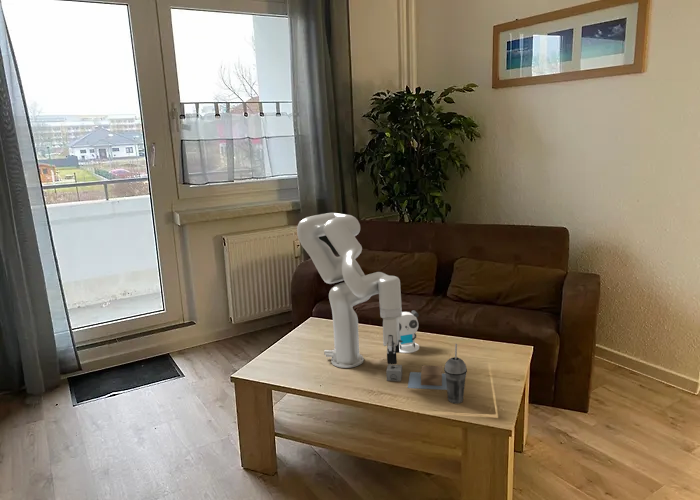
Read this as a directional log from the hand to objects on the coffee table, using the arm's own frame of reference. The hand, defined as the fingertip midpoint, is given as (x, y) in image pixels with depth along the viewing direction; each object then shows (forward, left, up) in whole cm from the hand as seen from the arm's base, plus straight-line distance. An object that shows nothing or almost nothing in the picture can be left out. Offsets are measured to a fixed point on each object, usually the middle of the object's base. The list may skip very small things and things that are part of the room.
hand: (393, 358), depth 186 cm
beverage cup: (+21, -13, -9) cm, 27 cm away
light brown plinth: (+13, 0, -8) cm, 15 cm away
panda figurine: (+1, +30, -9) cm, 31 cm away
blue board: (+13, 0, -9) cm, 16 cm away
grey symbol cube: (0, +1, -9) cm, 9 cm away
